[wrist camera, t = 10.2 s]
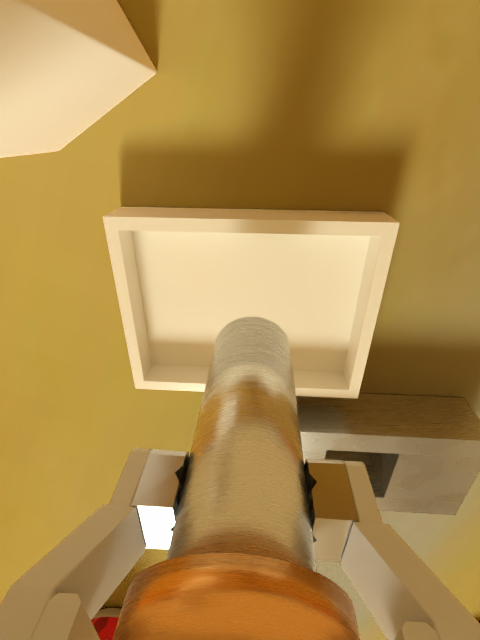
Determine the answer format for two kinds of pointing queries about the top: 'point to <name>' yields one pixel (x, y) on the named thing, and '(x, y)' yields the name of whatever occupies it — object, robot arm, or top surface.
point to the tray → (249, 288)
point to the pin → (242, 514)
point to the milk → (63, 70)
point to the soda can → (106, 622)
